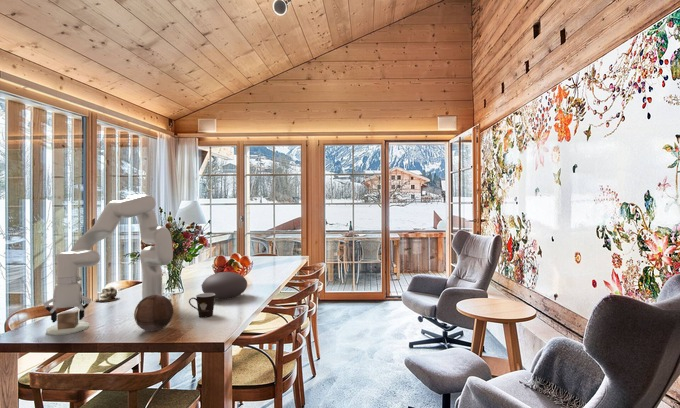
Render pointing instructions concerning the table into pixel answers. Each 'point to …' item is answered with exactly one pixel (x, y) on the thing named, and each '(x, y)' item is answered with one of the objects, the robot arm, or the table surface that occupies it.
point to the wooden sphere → (153, 312)
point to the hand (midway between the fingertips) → (68, 320)
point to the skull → (108, 294)
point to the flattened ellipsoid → (225, 285)
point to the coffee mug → (204, 304)
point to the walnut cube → (67, 319)
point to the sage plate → (55, 331)
